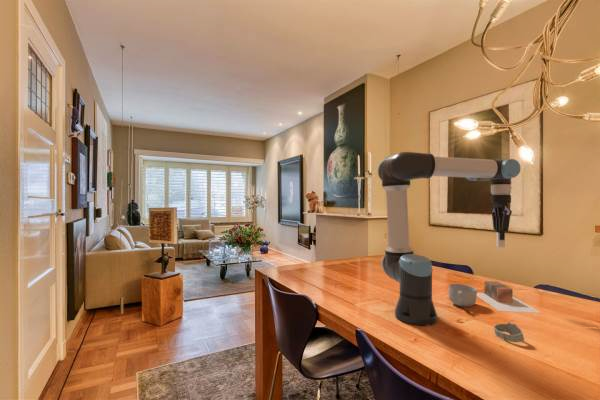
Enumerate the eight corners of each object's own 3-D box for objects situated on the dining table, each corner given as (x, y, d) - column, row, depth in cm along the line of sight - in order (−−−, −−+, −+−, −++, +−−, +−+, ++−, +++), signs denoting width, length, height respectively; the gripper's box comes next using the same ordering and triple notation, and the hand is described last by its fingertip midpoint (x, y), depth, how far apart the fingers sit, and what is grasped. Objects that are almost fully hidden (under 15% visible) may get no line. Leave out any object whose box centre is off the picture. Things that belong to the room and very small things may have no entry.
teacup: (453, 299, 138) (453, 281, 138) (480, 305, 131) (480, 286, 130) (442, 306, 128) (442, 287, 128) (470, 313, 121) (470, 293, 121)
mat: (542, 314, 120) (542, 312, 120) (498, 312, 122) (498, 310, 122) (508, 295, 144) (508, 293, 144) (472, 293, 146) (472, 292, 146)
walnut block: (512, 289, 132) (498, 281, 144) (497, 288, 132) (484, 281, 144) (512, 302, 132) (497, 294, 144) (497, 302, 132) (484, 293, 144)
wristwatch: (529, 344, 95) (529, 328, 95) (513, 346, 94) (513, 330, 94) (503, 331, 104) (503, 317, 104) (488, 333, 103) (488, 319, 103)
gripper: (518, 194, 128) (518, 249, 128) (501, 194, 141) (501, 245, 141) (499, 194, 129) (499, 249, 129) (484, 194, 142) (484, 244, 142)
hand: (500, 246), depth 135 cm, fingers closed
